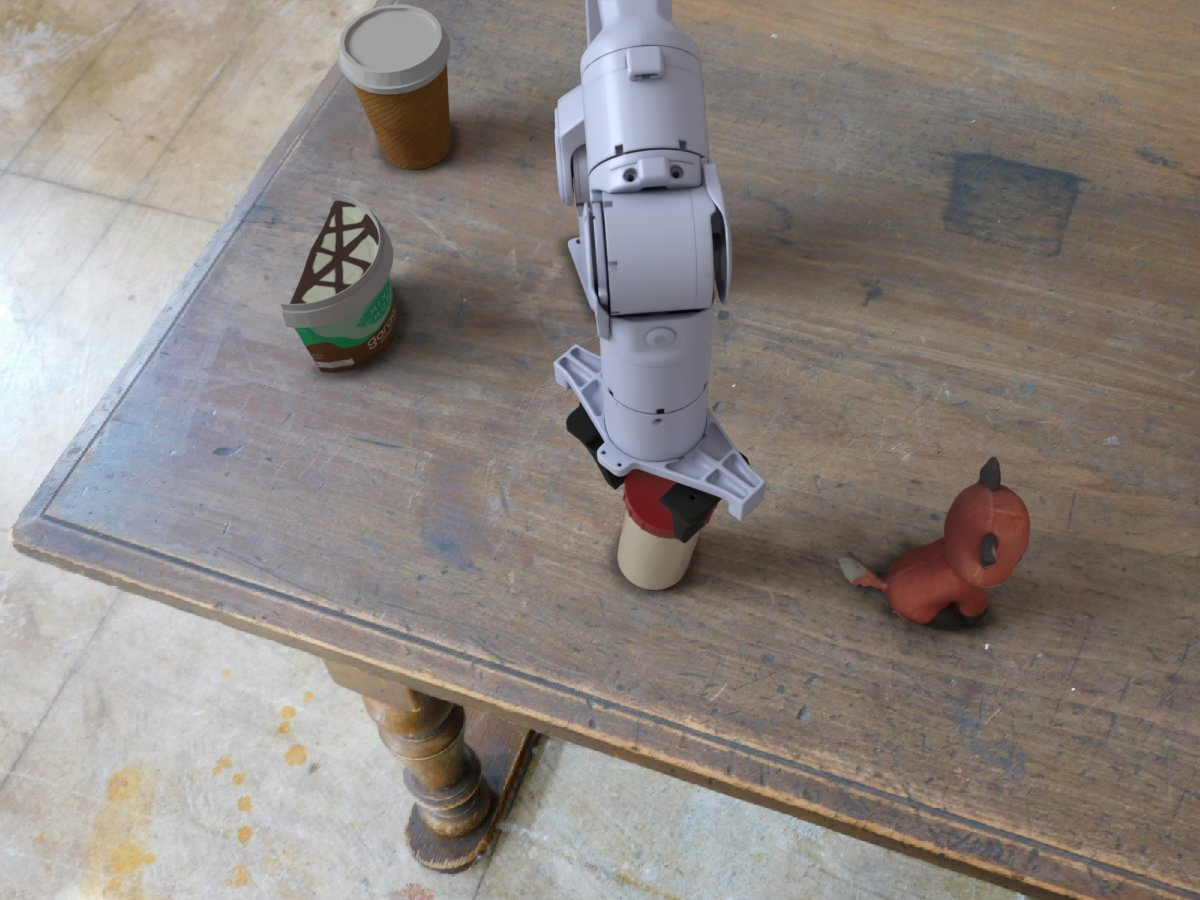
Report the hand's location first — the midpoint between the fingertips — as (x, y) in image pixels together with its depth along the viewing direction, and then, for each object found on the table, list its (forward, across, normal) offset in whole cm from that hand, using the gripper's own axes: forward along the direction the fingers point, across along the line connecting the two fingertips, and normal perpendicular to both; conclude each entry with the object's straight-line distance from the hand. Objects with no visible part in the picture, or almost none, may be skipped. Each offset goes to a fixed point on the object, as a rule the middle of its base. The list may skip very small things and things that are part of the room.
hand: (655, 503), depth 68 cm
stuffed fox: (+11, +14, +12) cm, 21 cm away
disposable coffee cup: (+8, -46, +17) cm, 49 cm away
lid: (-1, 0, +1) cm, 1 cm away
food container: (+9, -32, +1) cm, 33 cm away
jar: (+10, -1, +1) cm, 10 cm away
